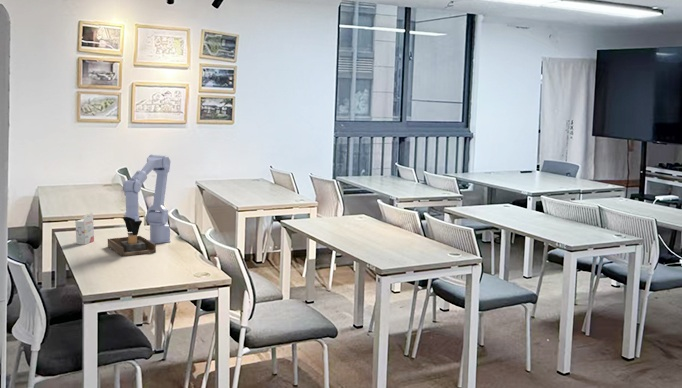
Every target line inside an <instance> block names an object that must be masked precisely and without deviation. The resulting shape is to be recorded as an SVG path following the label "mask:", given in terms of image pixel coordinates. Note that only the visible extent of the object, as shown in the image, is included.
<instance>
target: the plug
mask: <svg viewBox="0 0 682 388" xmlns="http://www.w3.org/2000/svg"><path fill="white" fill-rule="evenodd" d="M137 236H138V235H133V233H132V232H127V237H128V244H137Z"/></svg>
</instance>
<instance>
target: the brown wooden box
mask: <svg viewBox="0 0 682 388" xmlns="http://www.w3.org/2000/svg"><path fill="white" fill-rule="evenodd" d="M149 240H150V239H147V238H145V237H143V236H141V235H137V244H128V236H125V237H114V238H107V247H108V248H109V249H110V248H111V249H110V250H111V251H113V252H114V253H116V254H117V255H120V256H121V257H130V256H139V255H145V254H146V255H147V254H156V253H157V249H156V247H157V245H156V244H157V243H152V242H150V241H149Z"/></svg>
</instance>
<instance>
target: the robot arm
mask: <svg viewBox="0 0 682 388" xmlns="http://www.w3.org/2000/svg"><path fill="white" fill-rule="evenodd" d="M170 168H171V159H170V157H169V156H168V155H161V154H149V156H148V157H146V162H145V165H143V167H142V168H141V170H137V171H136V172H134V174H133V175H132V176H131V178H130V179H129V180H128V179H127V180H126V181H124V183H123V186H122V190H123V192H124V196H125V212H124V213H125V214H123V217H122V219H123V222H124V223H125V227H126V231H127V233H133V235H137V236H139V232H140V228H141V225H142V223H143V220H141V219H140V213H139V193H140V191H141V188H142V186H143V184H144V183H145V181H146V180H147V178H148V175H149V173H151V172H152V171H153V172H155V174H156V179H155V185H154V186H155V187H154V196H153V204H152V205H151V206H149V207H148V208H147V212H146V216H145V220H146V222H147V223H148V225H149V239H148V240H149V241H150V242H152V243H154V244H161V243H171V227H170V225H169V223H168V221H169V209H167V208H166V206H164V205H165V198H166V197H165V196H166V190H167V182H168V174H169V173H170V170H171V169H170Z"/></svg>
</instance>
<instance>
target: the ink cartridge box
mask: <svg viewBox="0 0 682 388" xmlns="http://www.w3.org/2000/svg"><path fill="white" fill-rule="evenodd" d="M82 217H83V218H81V219H78V220H75V241H76V243H75V244H76V245H84V246H85V245H88V244H91V243H93V242H94V241H95V229H94V225H95V224H94V213H93V212H91V213H87V214H85V215H83V216H82Z"/></svg>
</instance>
